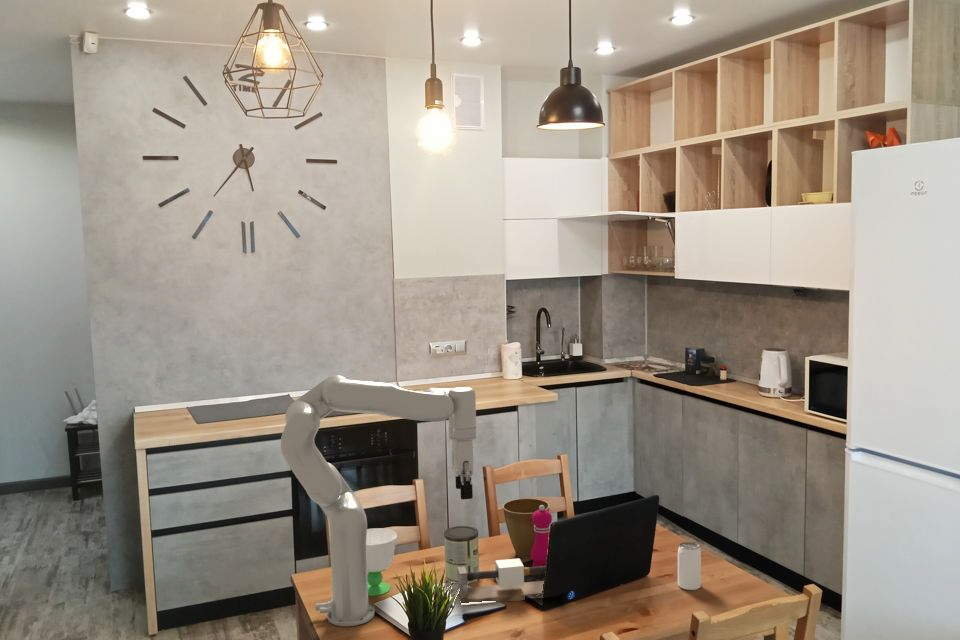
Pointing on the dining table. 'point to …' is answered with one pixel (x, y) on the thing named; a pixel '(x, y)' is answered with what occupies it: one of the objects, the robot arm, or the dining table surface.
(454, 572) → the coffee can
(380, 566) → the cup
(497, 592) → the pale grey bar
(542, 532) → the pepper mill
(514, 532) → the plant pot
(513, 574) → the white cubic block
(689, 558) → the can
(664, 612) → the dining table surface
